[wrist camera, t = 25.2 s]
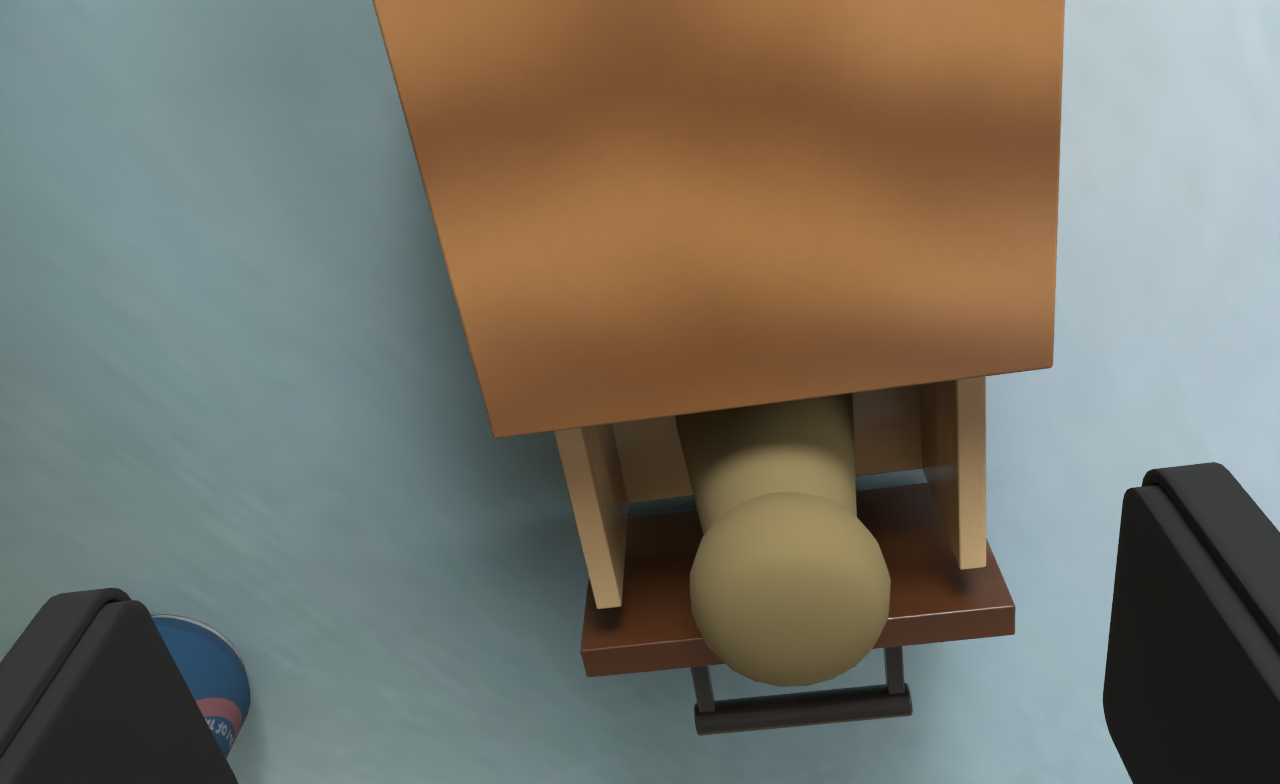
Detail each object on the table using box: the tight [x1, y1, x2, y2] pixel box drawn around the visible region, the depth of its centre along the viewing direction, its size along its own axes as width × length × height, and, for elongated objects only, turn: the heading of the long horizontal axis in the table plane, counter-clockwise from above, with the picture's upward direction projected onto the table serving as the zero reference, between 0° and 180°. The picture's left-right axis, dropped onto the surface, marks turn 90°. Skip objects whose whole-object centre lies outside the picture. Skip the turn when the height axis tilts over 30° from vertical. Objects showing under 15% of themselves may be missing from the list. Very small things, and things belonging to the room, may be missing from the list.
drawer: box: [554, 376, 1015, 736], centre depth 34 cm, size 20×14×7 cm
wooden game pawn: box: [676, 393, 891, 686], centre depth 30 cm, size 6×6×11 cm
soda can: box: [151, 615, 250, 758], centre depth 39 cm, size 7×7×12 cm
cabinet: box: [372, 0, 1065, 438], centre depth 28 cm, size 15×15×9 cm
